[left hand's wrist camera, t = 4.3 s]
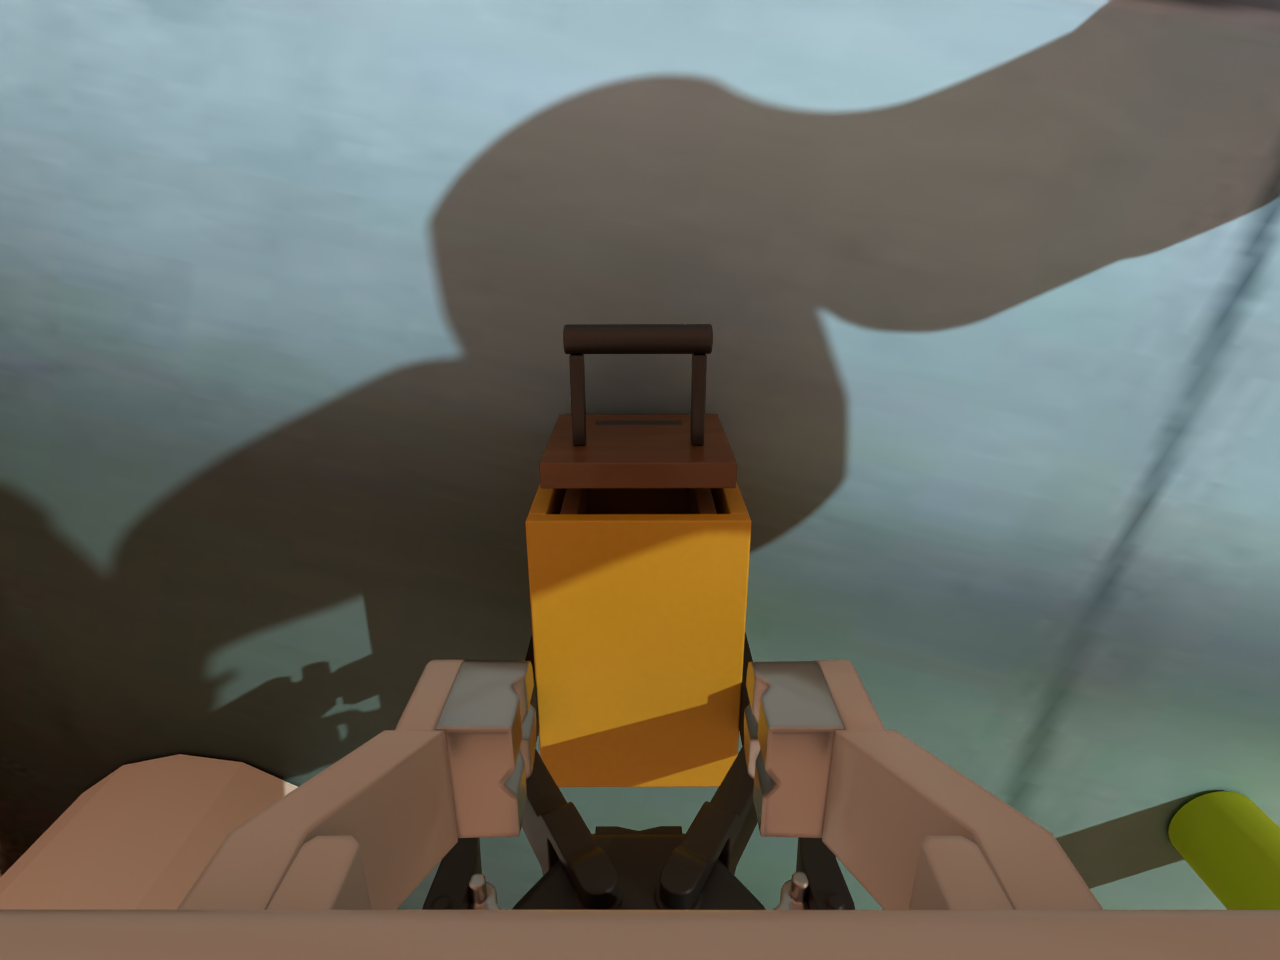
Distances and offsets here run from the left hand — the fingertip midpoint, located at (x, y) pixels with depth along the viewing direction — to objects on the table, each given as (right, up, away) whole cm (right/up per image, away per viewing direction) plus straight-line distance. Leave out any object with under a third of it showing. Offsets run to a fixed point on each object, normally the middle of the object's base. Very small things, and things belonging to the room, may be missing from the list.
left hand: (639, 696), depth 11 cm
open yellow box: (0, -2, +31) cm, 31 cm away
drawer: (0, +3, +28) cm, 28 cm away
